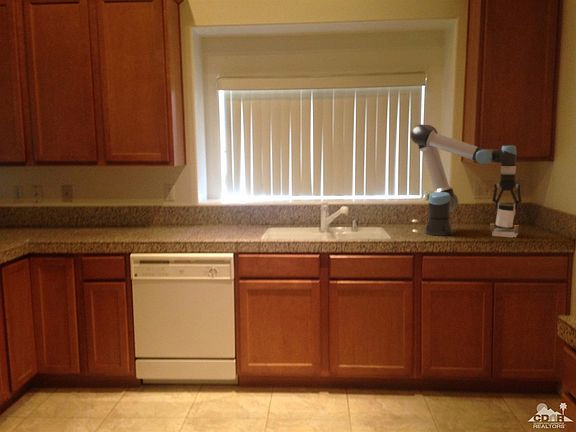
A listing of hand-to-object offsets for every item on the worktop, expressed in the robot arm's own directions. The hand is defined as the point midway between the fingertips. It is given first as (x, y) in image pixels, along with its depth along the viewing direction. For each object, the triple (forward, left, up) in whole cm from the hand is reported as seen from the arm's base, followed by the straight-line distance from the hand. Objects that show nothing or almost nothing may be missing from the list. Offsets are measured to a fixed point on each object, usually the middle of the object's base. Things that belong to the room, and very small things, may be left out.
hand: (506, 214), depth 282 cm
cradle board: (0, +1, -12) cm, 12 cm away
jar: (-1, 0, -7) cm, 7 cm away
